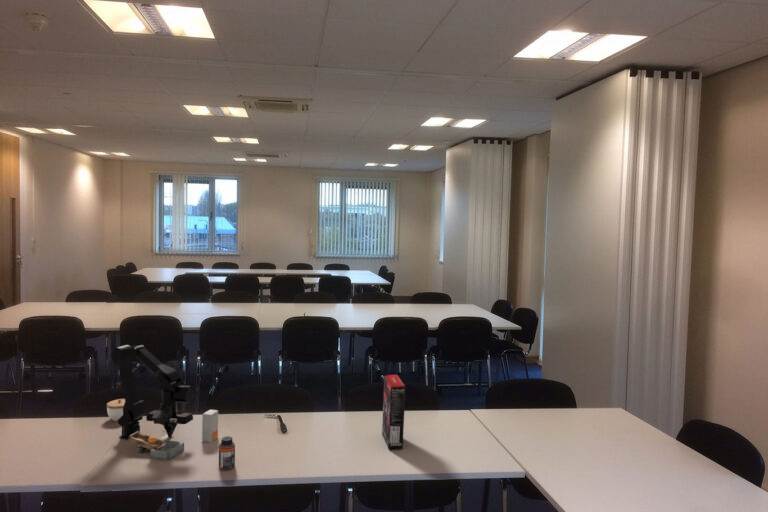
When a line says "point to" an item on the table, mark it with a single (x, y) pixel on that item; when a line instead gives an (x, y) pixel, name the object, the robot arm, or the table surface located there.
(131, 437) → the lever
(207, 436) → the skincare box
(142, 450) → the fulcrum
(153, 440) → the ball
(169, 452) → the tray
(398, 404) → the graphics card box
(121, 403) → the lidded jar
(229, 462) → the supplement bottle
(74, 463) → the table surface
